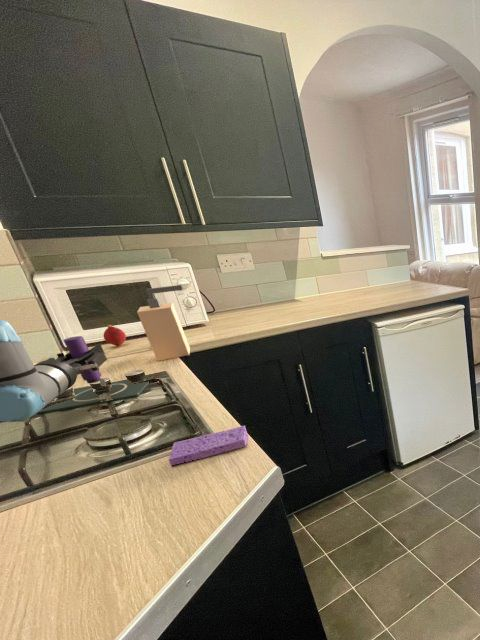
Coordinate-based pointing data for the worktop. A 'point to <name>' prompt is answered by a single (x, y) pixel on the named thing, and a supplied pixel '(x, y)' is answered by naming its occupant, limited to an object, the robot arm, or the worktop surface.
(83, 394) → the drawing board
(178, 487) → the worktop surface
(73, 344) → the cylinder
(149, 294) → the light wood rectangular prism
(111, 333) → the red rounded lump
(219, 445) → the sponge
